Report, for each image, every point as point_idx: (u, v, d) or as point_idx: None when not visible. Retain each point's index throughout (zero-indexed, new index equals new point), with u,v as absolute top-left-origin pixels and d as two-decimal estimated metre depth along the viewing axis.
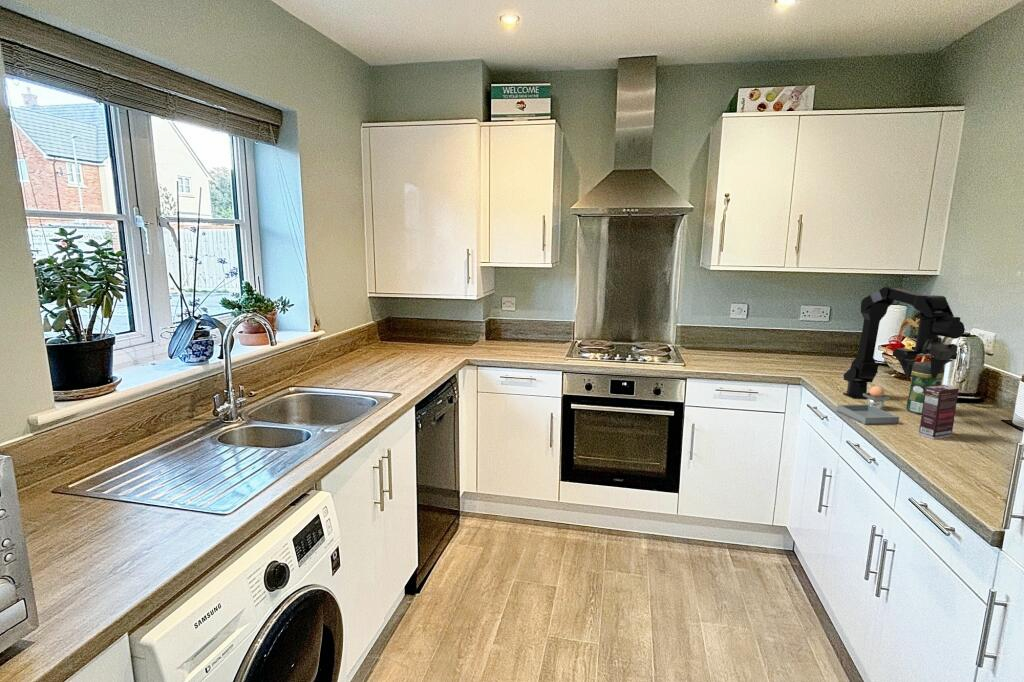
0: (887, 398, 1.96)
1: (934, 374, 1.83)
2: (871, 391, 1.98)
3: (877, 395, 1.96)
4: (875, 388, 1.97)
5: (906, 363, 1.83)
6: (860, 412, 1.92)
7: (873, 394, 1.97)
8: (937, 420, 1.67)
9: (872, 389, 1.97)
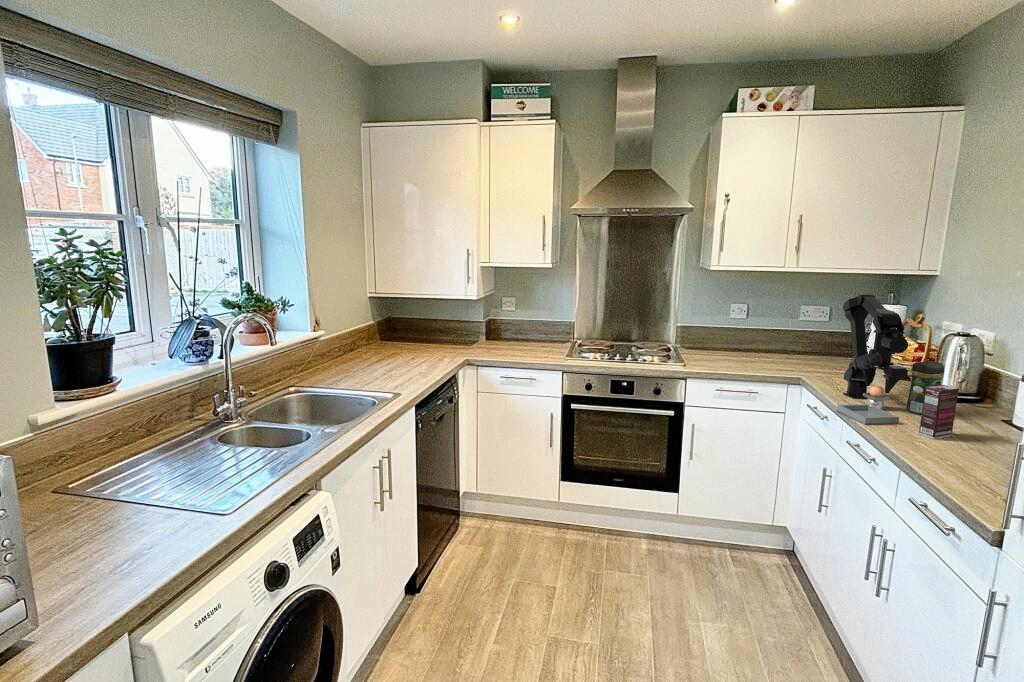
0: (887, 398, 1.96)
1: None
2: (871, 391, 1.98)
3: (877, 395, 1.96)
4: (875, 388, 1.97)
5: None
6: (860, 412, 1.92)
7: (873, 394, 1.97)
8: (937, 420, 1.67)
9: (872, 389, 1.97)
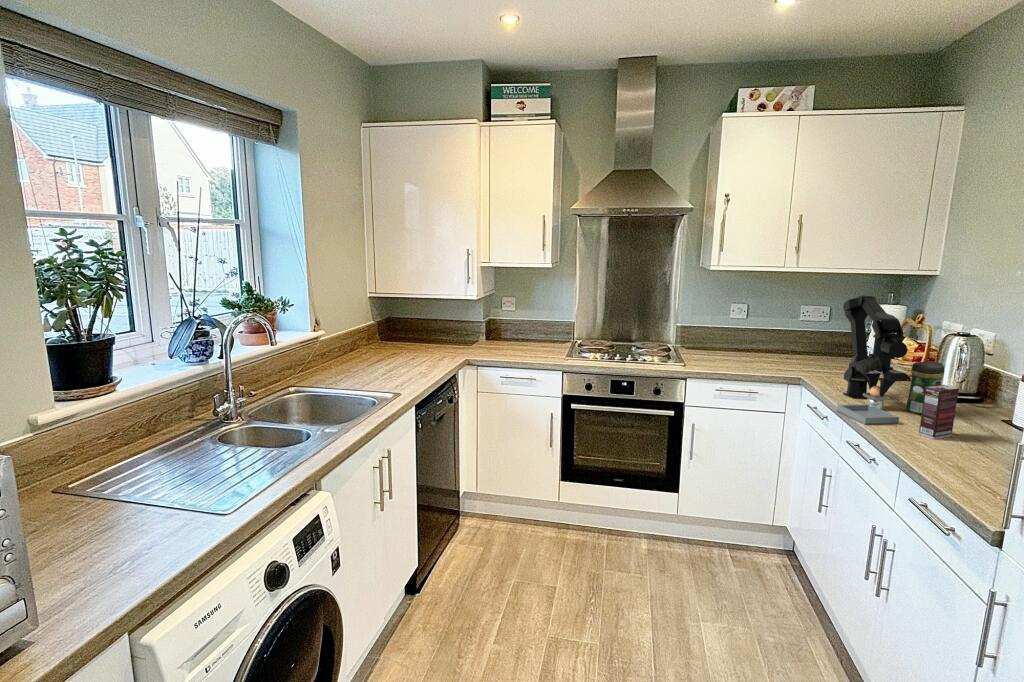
0: (887, 398, 1.96)
1: None
2: (871, 391, 1.98)
3: (877, 395, 1.96)
4: (875, 388, 1.97)
5: None
6: (860, 412, 1.92)
7: (873, 394, 1.97)
8: (937, 420, 1.67)
9: (872, 389, 1.97)
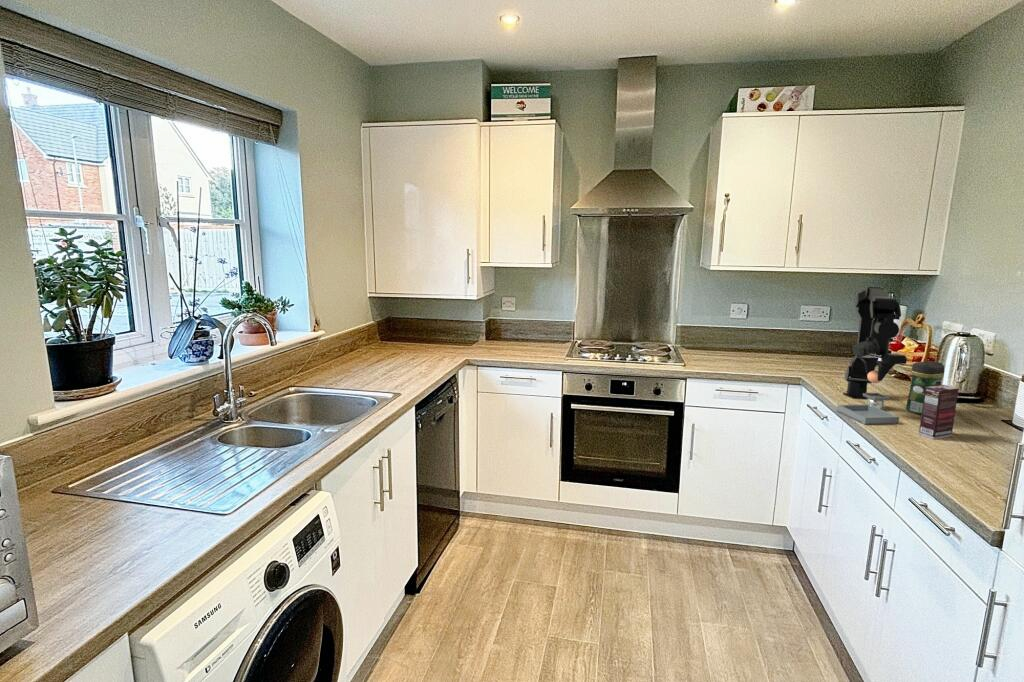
0: (887, 398, 1.96)
1: None
2: (869, 376, 1.88)
3: (875, 380, 1.86)
4: (873, 372, 1.87)
5: None
6: (860, 412, 1.92)
7: (871, 379, 1.87)
8: (937, 420, 1.67)
9: (870, 374, 1.87)
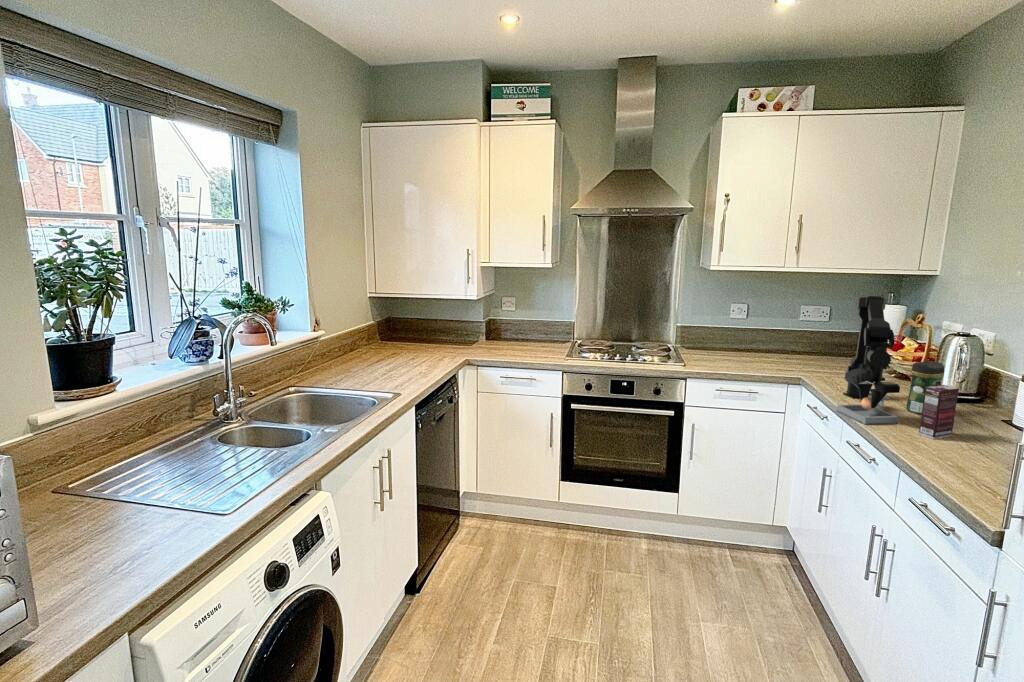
0: (887, 398, 1.96)
1: None
2: (862, 402, 1.87)
3: (868, 407, 1.86)
4: (866, 399, 1.86)
5: None
6: (860, 412, 1.92)
7: (864, 406, 1.87)
8: (937, 420, 1.67)
9: (863, 401, 1.87)
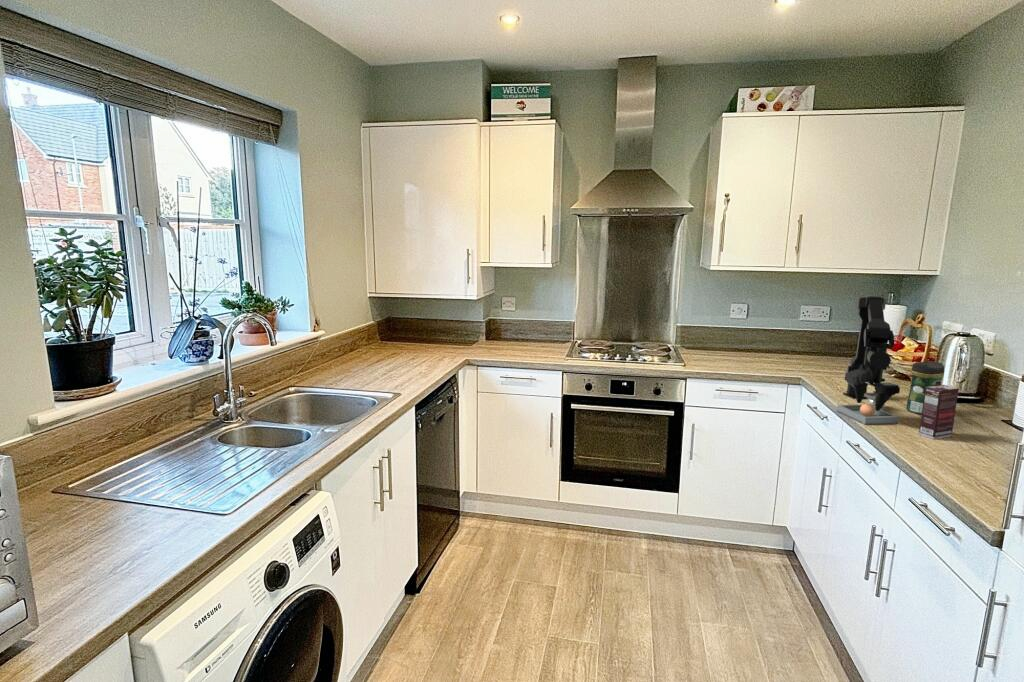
0: None
1: None
2: (861, 409, 1.88)
3: (868, 413, 1.86)
4: (865, 406, 1.87)
5: None
6: (860, 412, 1.92)
7: (863, 412, 1.87)
8: (937, 420, 1.67)
9: (862, 407, 1.87)
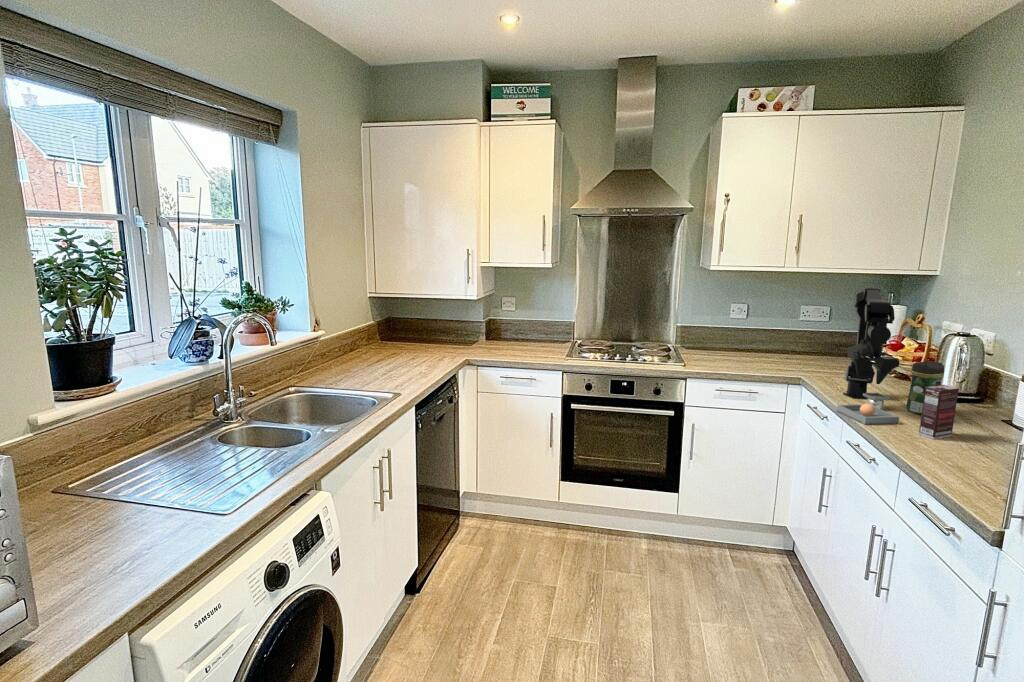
0: (887, 398, 1.96)
1: None
2: (861, 409, 1.88)
3: (867, 413, 1.86)
4: (865, 406, 1.87)
5: None
6: (860, 412, 1.92)
7: (863, 412, 1.87)
8: (937, 420, 1.67)
9: (862, 407, 1.87)
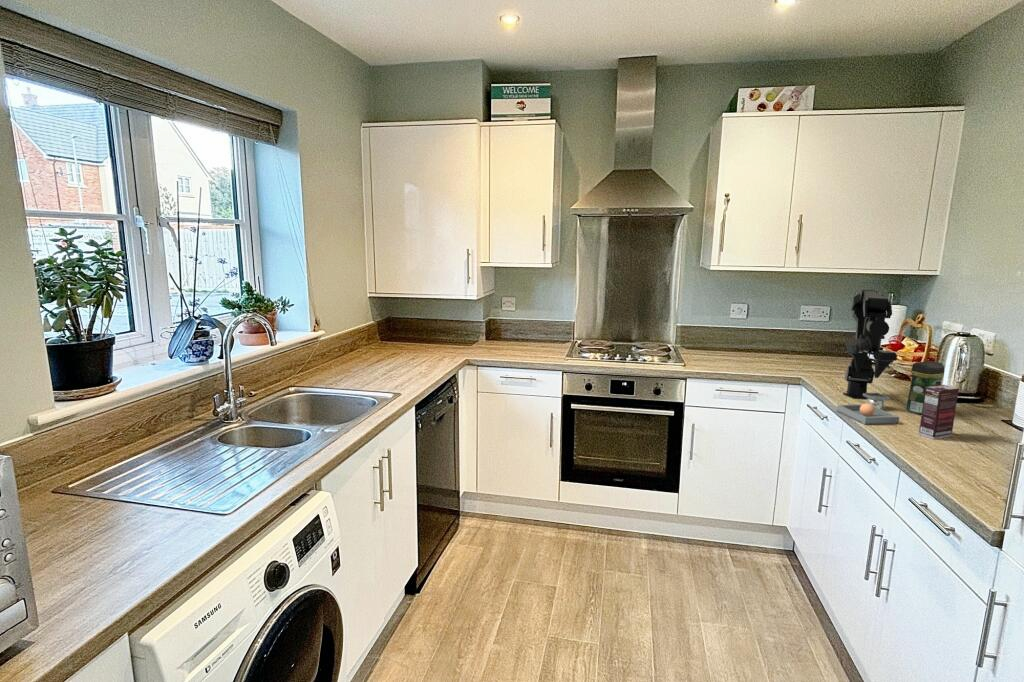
0: (887, 398, 1.96)
1: None
2: (861, 409, 1.88)
3: (867, 413, 1.86)
4: (865, 406, 1.87)
5: None
6: (860, 412, 1.92)
7: (863, 412, 1.87)
8: (937, 420, 1.67)
9: (862, 407, 1.87)
